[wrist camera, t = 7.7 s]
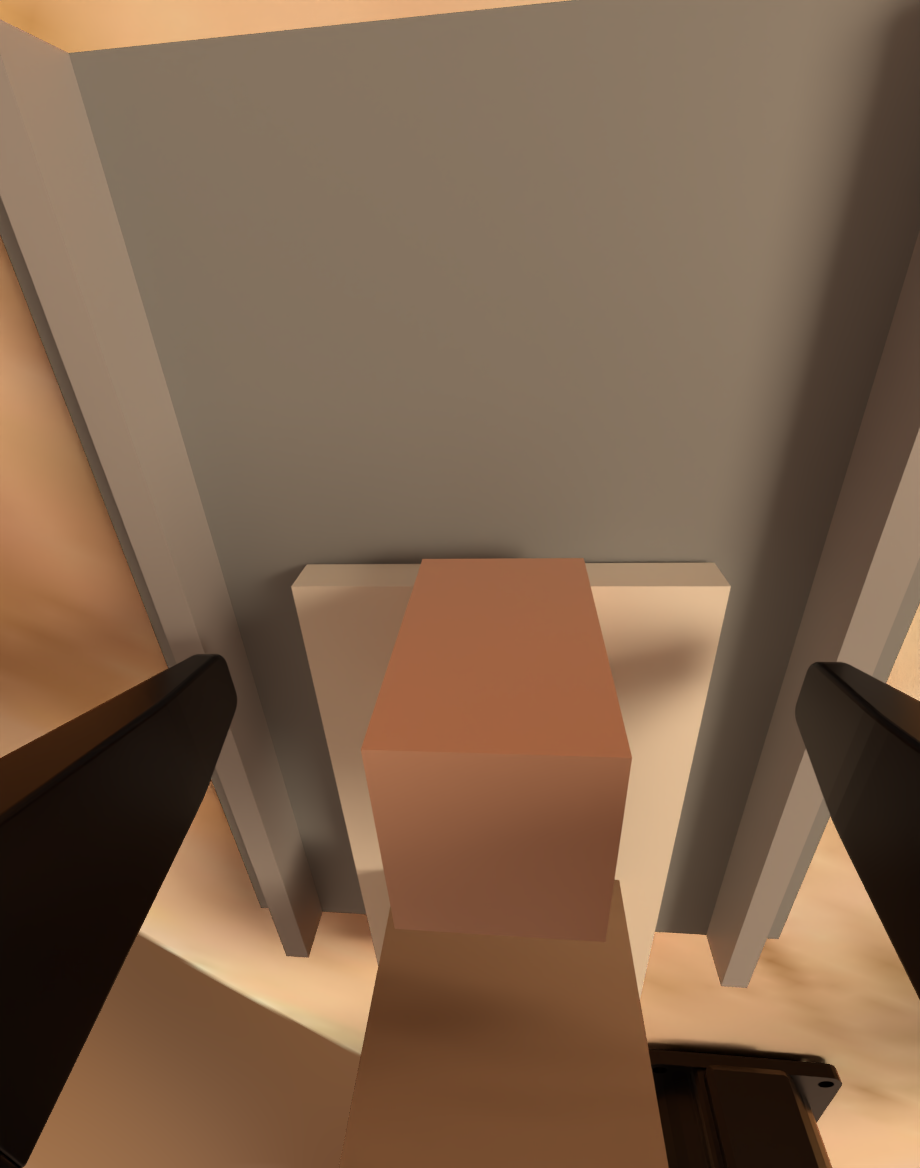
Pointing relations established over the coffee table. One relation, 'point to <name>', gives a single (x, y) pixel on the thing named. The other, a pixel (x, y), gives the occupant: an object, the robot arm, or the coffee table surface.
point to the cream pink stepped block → (512, 735)
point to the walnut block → (505, 1055)
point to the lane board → (497, 360)
